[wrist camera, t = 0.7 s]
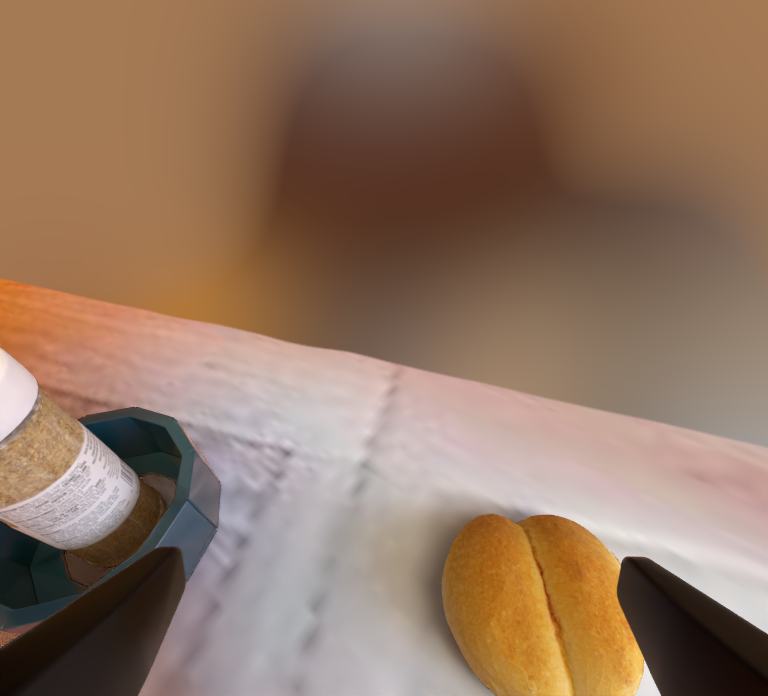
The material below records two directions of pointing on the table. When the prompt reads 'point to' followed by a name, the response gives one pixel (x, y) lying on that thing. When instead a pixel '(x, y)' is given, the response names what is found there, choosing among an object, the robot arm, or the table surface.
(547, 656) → the bread roll
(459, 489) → the table surface
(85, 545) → the spice jar
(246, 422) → the table surface
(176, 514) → the bowl
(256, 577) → the table surface
